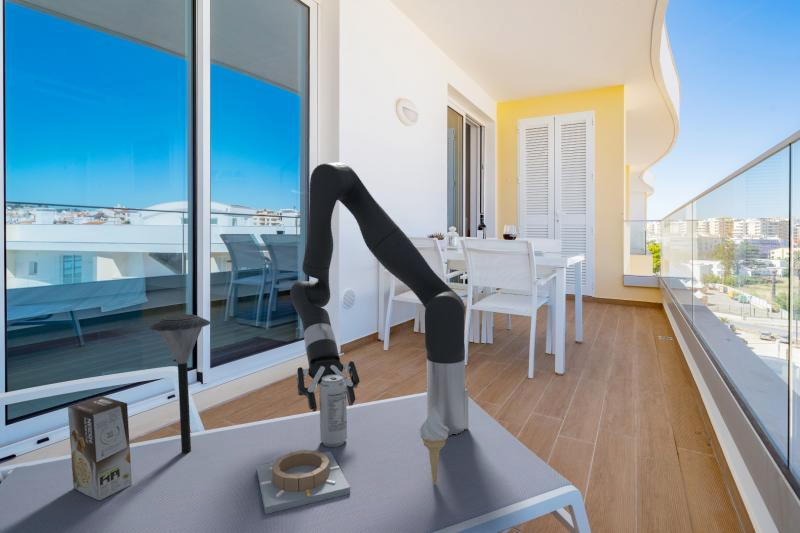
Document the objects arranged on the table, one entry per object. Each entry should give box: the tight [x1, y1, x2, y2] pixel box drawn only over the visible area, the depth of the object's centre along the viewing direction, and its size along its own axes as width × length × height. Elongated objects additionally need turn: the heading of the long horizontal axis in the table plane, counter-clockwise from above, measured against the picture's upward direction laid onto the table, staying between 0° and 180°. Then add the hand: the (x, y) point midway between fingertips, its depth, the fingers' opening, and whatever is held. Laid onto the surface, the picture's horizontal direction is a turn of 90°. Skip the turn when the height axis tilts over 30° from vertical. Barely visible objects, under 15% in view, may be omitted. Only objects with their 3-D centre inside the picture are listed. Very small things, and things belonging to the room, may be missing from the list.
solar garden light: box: [148, 313, 212, 454], centre depth 98 cm, size 12×12×30 cm
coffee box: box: [67, 395, 133, 501], centre depth 85 cm, size 9×6×16 cm
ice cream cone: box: [419, 408, 449, 485], centre depth 84 cm, size 6×6×15 cm
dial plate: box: [256, 449, 351, 515], centre depth 86 cm, size 15×15×4 cm
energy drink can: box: [318, 375, 348, 448], centre depth 102 cm, size 6×6×15 cm
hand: (333, 407), depth 102 cm, fingers open, 8 cm apart
